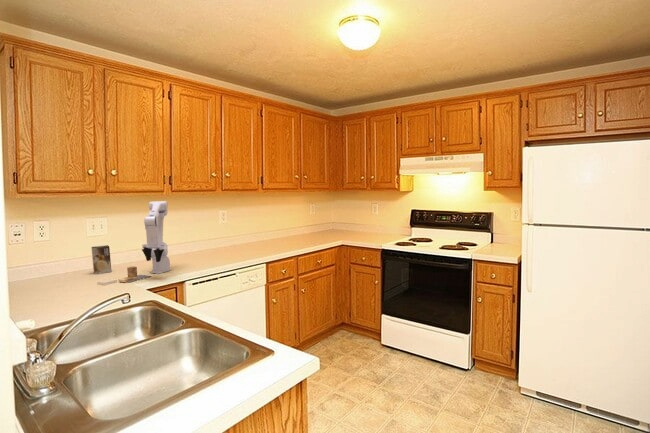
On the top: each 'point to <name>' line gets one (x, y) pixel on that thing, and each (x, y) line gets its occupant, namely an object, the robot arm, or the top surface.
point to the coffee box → (101, 259)
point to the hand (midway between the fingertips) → (153, 261)
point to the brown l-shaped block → (130, 274)
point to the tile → (107, 282)
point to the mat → (139, 278)
